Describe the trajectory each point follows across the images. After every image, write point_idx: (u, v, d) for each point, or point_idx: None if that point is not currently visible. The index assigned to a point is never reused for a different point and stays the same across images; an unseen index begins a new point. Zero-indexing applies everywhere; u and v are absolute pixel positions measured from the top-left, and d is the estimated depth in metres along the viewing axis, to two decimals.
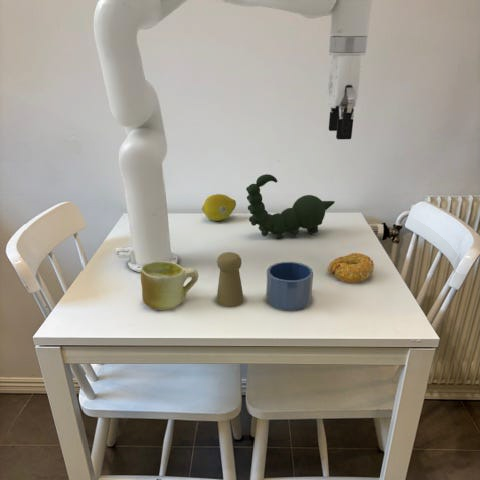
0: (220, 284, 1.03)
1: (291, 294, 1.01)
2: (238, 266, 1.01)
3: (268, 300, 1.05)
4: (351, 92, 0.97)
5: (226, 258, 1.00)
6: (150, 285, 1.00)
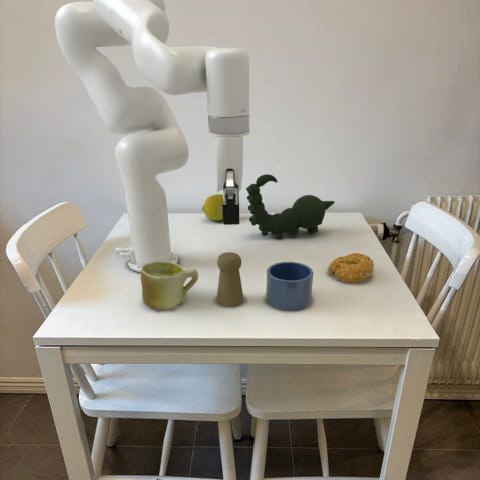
0: (220, 284, 1.03)
1: (291, 294, 1.01)
2: (238, 266, 1.01)
3: (268, 300, 1.05)
4: (231, 177, 0.86)
5: (226, 258, 1.00)
6: (150, 285, 1.00)
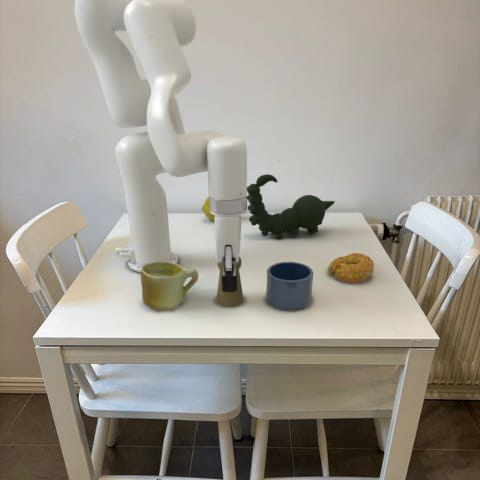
0: (220, 284, 1.03)
1: (291, 294, 1.01)
2: (238, 266, 1.01)
3: (268, 300, 1.05)
4: (229, 258, 0.95)
5: None
6: (150, 285, 1.00)
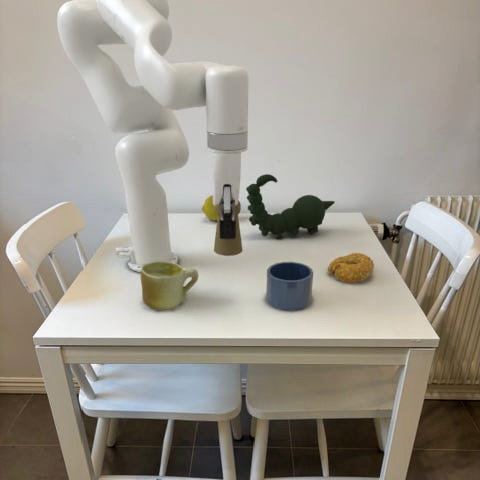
0: (218, 231, 0.97)
1: (291, 294, 1.01)
2: (237, 211, 0.95)
3: (268, 300, 1.05)
4: (228, 199, 0.89)
5: None
6: (150, 285, 1.00)
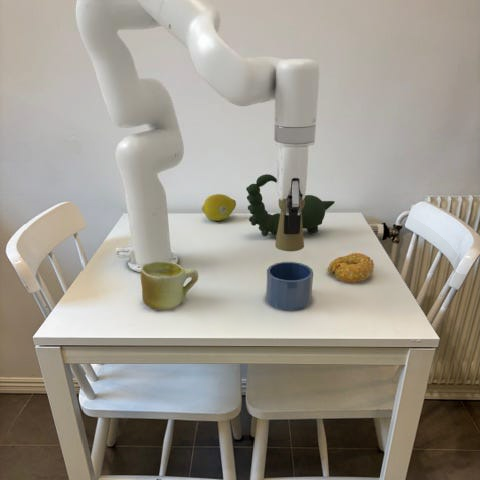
0: (281, 226, 0.97)
1: (291, 294, 1.01)
2: (302, 205, 0.94)
3: (268, 300, 1.05)
4: (297, 193, 0.89)
5: (290, 197, 0.93)
6: (150, 285, 1.00)
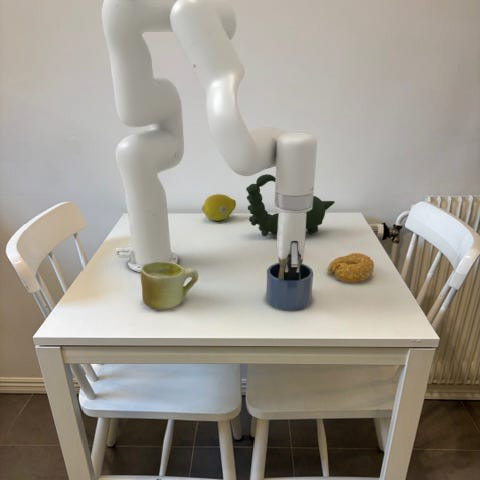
0: None
1: (291, 294, 1.01)
2: (300, 263, 1.01)
3: (268, 300, 1.05)
4: (295, 254, 0.95)
5: (289, 255, 1.00)
6: (150, 285, 1.00)
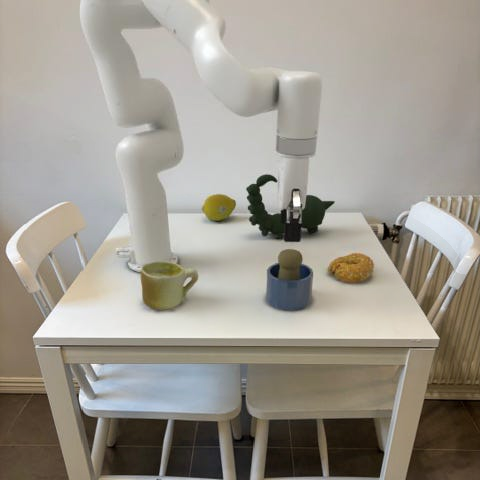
0: None
1: (291, 294, 1.01)
2: (300, 263, 1.01)
3: (268, 300, 1.05)
4: (298, 198, 0.88)
5: (288, 255, 1.00)
6: (150, 285, 1.00)
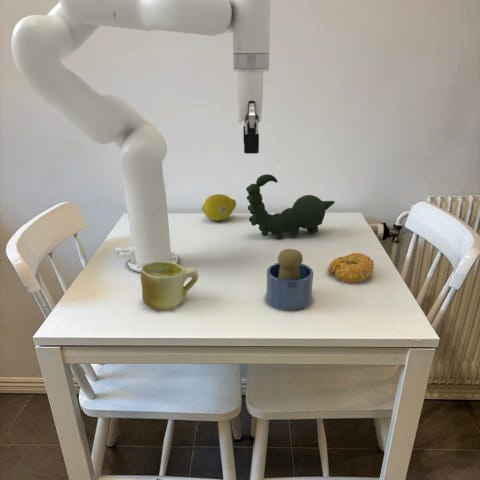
0: None
1: (291, 294, 1.01)
2: (300, 263, 1.01)
3: (268, 300, 1.05)
4: (253, 108, 0.99)
5: (288, 255, 1.00)
6: (150, 285, 1.00)
